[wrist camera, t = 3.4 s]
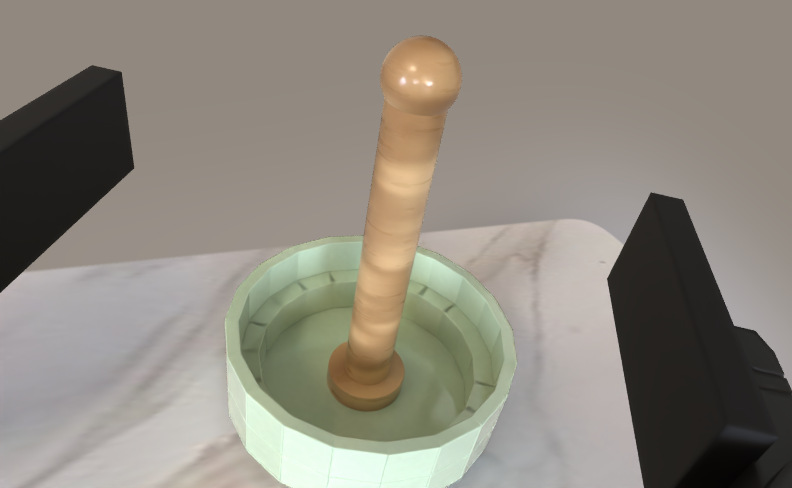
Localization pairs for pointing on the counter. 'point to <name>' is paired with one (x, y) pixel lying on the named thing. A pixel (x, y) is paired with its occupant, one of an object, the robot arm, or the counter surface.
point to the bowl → (329, 327)
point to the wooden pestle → (394, 218)
